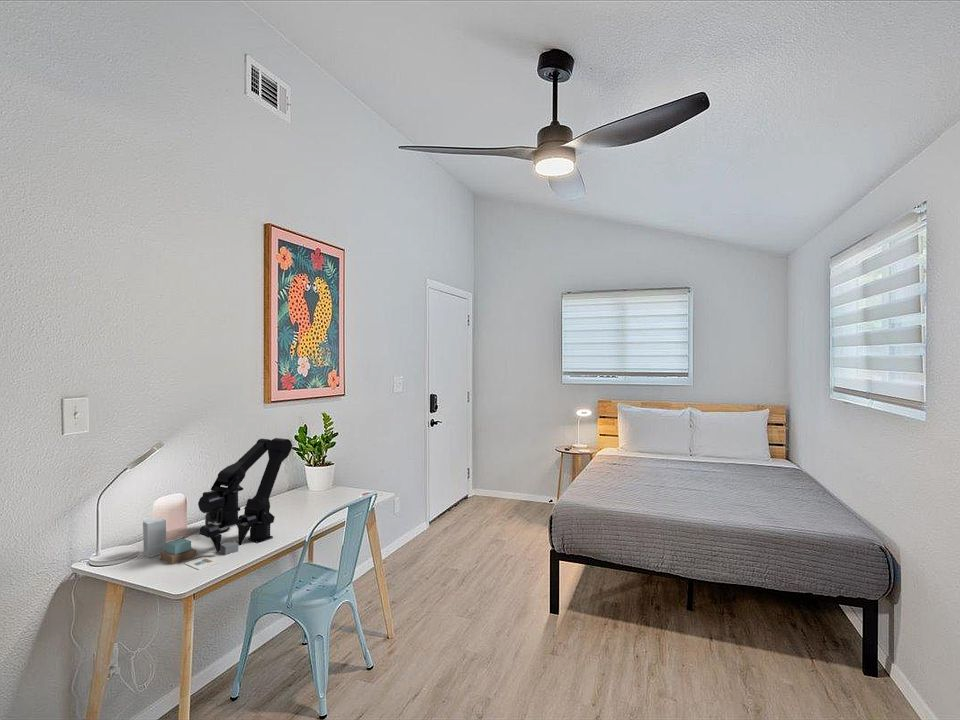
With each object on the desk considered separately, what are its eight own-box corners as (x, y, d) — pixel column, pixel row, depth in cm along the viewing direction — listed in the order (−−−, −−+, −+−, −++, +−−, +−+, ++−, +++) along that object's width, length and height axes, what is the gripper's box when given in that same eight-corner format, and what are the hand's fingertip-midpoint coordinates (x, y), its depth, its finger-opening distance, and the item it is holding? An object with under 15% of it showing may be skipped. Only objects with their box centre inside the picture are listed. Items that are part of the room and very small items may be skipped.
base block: (183, 553, 186) (183, 544, 186) (196, 558, 182) (196, 549, 182) (160, 560, 179) (160, 551, 179) (172, 566, 175) (172, 557, 175)
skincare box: (161, 550, 187) (161, 517, 187) (166, 553, 184) (166, 519, 184) (142, 555, 182) (142, 521, 182) (147, 558, 180) (147, 523, 179)
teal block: (182, 546, 184) (182, 538, 184) (191, 549, 181) (191, 541, 181) (166, 551, 179) (166, 542, 179) (175, 554, 177) (175, 546, 177)
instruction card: (204, 556, 182) (204, 555, 182) (219, 562, 177) (219, 561, 177) (184, 563, 176) (184, 562, 176) (198, 569, 171) (198, 569, 171)
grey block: (232, 548, 190) (232, 540, 190) (238, 552, 187) (238, 543, 187) (219, 552, 186) (219, 544, 186) (225, 555, 183) (225, 547, 183)
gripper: (240, 495, 198) (239, 536, 199) (190, 507, 183) (190, 551, 183) (258, 500, 193) (257, 542, 193) (208, 513, 177) (208, 559, 177)
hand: (229, 548), depth 187 cm, fingers open, 8 cm apart
